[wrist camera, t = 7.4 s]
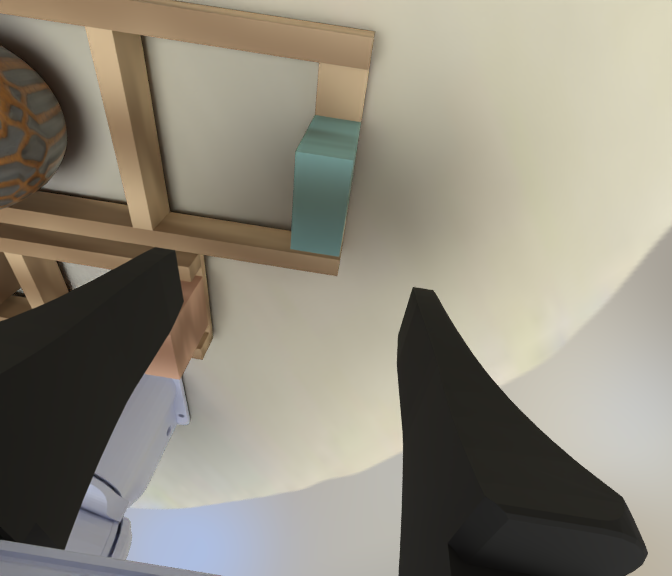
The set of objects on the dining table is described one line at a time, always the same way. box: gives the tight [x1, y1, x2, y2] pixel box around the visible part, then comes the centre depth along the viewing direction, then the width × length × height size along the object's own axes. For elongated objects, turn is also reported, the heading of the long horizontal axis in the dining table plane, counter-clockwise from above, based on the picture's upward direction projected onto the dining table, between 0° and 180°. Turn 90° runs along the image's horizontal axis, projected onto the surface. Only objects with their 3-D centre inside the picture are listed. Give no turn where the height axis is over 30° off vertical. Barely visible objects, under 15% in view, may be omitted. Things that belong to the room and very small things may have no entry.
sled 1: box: [0, 0, 375, 276], centre depth 17 cm, size 10×20×5 cm, turn 83°
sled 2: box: [0, 222, 213, 380], centre depth 23 cm, size 8×20×5 cm, turn 83°
